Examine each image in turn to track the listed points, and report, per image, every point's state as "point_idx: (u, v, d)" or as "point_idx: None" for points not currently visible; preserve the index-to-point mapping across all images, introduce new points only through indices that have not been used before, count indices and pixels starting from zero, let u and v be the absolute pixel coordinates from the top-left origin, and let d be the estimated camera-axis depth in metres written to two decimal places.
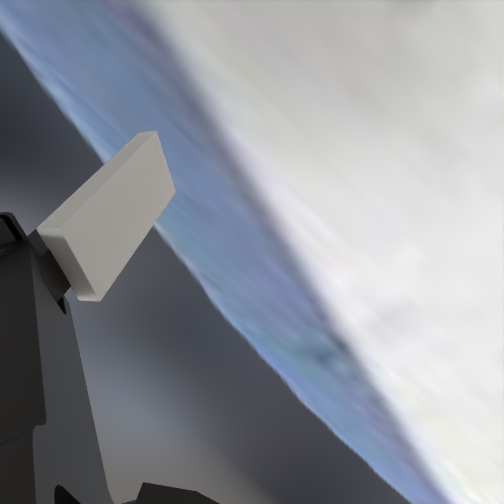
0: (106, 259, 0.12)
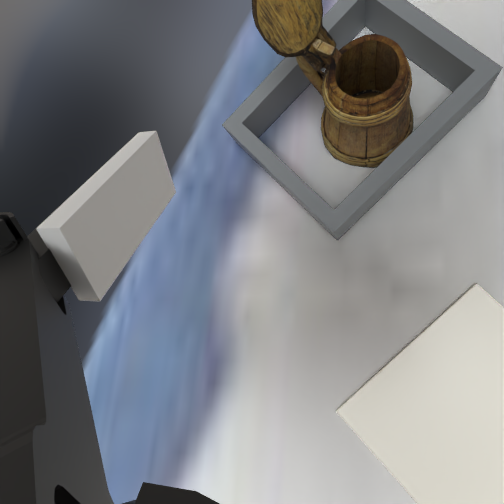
0: (106, 259, 0.12)
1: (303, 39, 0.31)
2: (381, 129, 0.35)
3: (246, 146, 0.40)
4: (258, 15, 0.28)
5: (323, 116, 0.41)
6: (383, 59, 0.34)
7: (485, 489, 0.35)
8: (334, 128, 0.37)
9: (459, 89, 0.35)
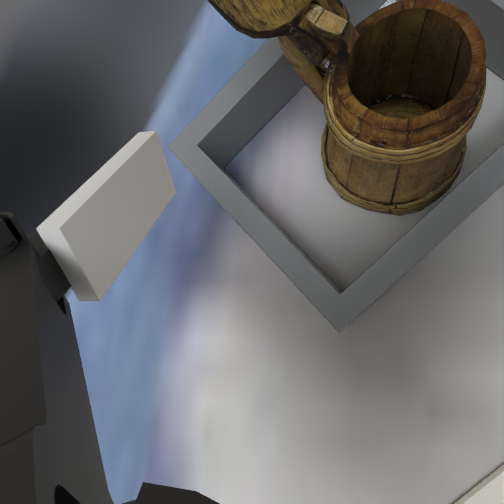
0: (106, 259, 0.12)
1: (288, 4, 0.16)
2: (423, 166, 0.20)
3: (203, 182, 0.25)
4: None
5: (325, 135, 0.27)
6: (432, 45, 0.19)
7: None
8: (342, 159, 0.23)
9: None
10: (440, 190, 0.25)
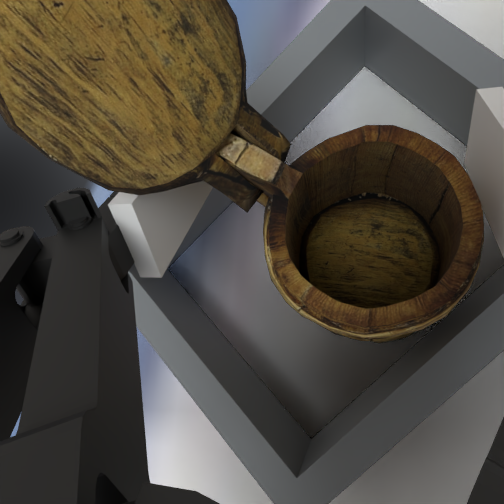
0: (166, 237, 0.13)
1: (189, 146, 0.11)
2: None
3: None
4: (8, 95, 0.09)
5: None
6: (408, 171, 0.14)
7: None
8: None
9: None
10: None
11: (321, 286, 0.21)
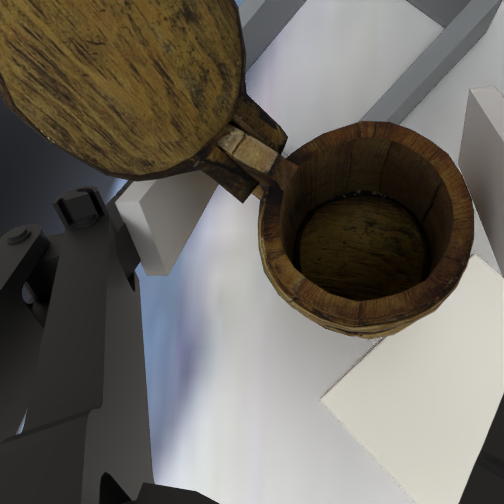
0: (172, 235, 0.13)
1: (187, 134, 0.11)
2: None
3: None
4: (8, 76, 0.09)
5: None
6: (402, 169, 0.14)
7: None
8: None
9: (454, 23, 0.29)
10: None
11: (314, 281, 0.21)
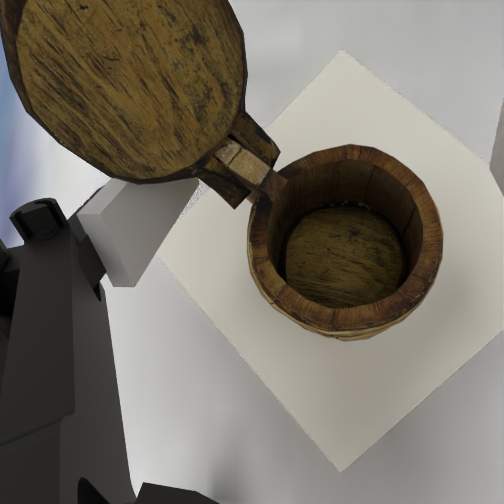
0: (140, 246, 0.13)
1: (188, 145, 0.12)
2: None
3: None
4: (30, 84, 0.09)
5: None
6: (384, 188, 0.15)
7: None
8: None
9: None
10: None
11: (297, 284, 0.23)
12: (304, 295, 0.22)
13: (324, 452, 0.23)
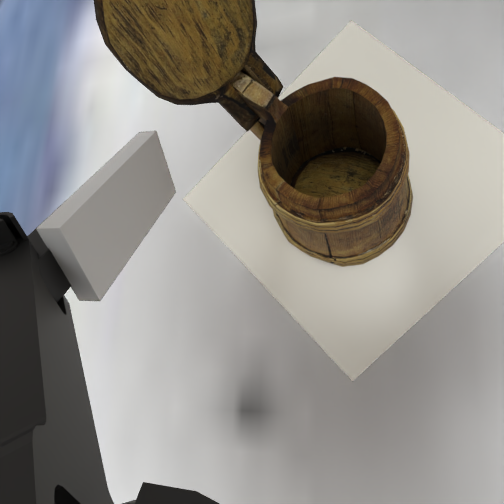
0: (106, 259, 0.12)
1: (213, 75, 0.16)
2: (350, 233, 0.21)
3: None
4: (109, 24, 0.14)
5: None
6: (366, 118, 0.19)
7: (353, 266, 0.27)
8: None
9: None
10: (379, 249, 0.25)
11: None
12: None
13: (338, 364, 0.26)
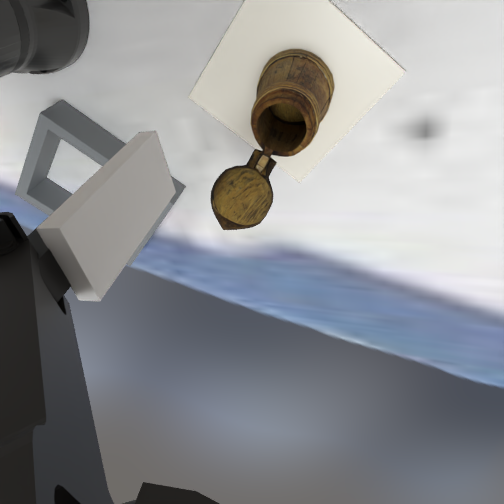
0: (106, 259, 0.12)
1: (260, 181, 0.40)
2: (318, 100, 0.40)
3: (138, 253, 0.63)
4: (253, 222, 0.39)
5: None
6: None
7: (334, 79, 0.45)
8: None
9: (62, 137, 0.52)
10: (323, 69, 0.43)
11: None
12: None
13: (395, 82, 0.44)
